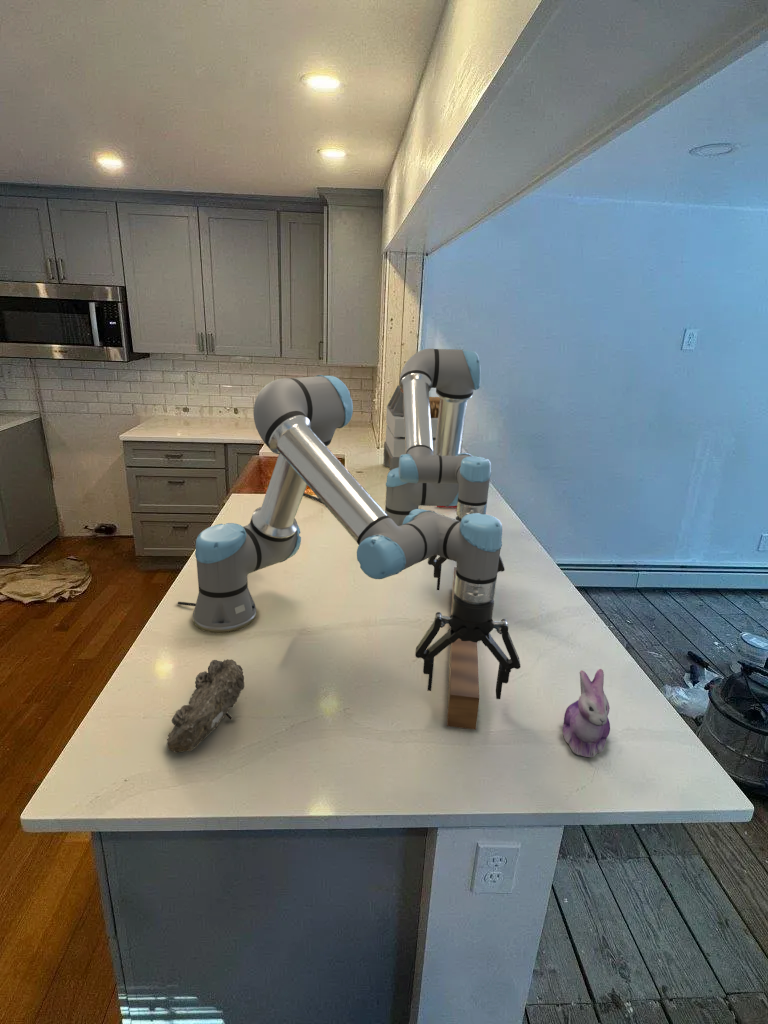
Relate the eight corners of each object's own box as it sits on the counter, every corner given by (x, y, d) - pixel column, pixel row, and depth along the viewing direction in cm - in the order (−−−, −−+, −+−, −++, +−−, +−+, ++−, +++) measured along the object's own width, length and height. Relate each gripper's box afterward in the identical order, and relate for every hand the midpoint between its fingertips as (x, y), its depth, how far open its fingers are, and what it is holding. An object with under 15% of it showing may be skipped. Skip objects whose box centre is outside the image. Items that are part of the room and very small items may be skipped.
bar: (452, 590, 161) (454, 567, 159) (471, 592, 161) (474, 568, 158) (446, 726, 108) (450, 694, 106) (475, 729, 108) (479, 697, 105)
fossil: (192, 660, 117) (244, 628, 112) (224, 691, 120) (276, 661, 115) (142, 746, 98) (202, 712, 93) (182, 779, 101) (242, 748, 96)
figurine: (588, 767, 100) (602, 697, 95) (547, 730, 108) (559, 664, 103) (625, 751, 104) (641, 683, 99) (583, 716, 112) (596, 652, 107)
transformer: (382, 463, 289) (386, 382, 275) (445, 464, 293) (451, 384, 279) (390, 482, 257) (394, 392, 243) (460, 483, 261) (468, 394, 247)
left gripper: (405, 598, 104) (399, 695, 111) (544, 613, 101) (529, 710, 108) (409, 580, 111) (403, 672, 118) (539, 593, 108) (525, 686, 115)
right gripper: (421, 518, 144) (416, 592, 151) (521, 526, 141) (510, 601, 149) (423, 508, 151) (418, 579, 158) (518, 516, 148) (508, 588, 156)
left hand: (463, 690), depth 113 cm, fingers open, 13 cm apart
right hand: (463, 590), depth 154 cm, fingers open, 13 cm apart
